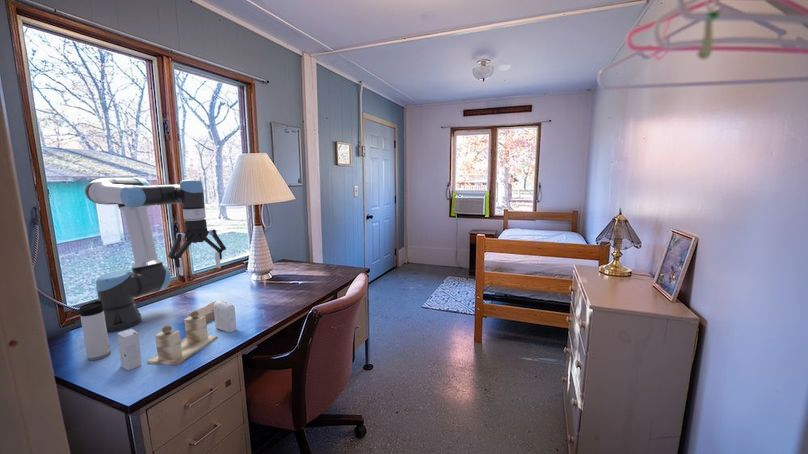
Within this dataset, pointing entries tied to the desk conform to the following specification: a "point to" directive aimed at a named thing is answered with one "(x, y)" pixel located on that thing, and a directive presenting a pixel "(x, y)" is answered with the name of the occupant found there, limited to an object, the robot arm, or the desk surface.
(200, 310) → the brick
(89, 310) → the travel mug
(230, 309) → the photo printer
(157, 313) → the desk surface
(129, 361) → the skincare box
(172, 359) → the posts
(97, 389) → the desk surface
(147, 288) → the robot arm
